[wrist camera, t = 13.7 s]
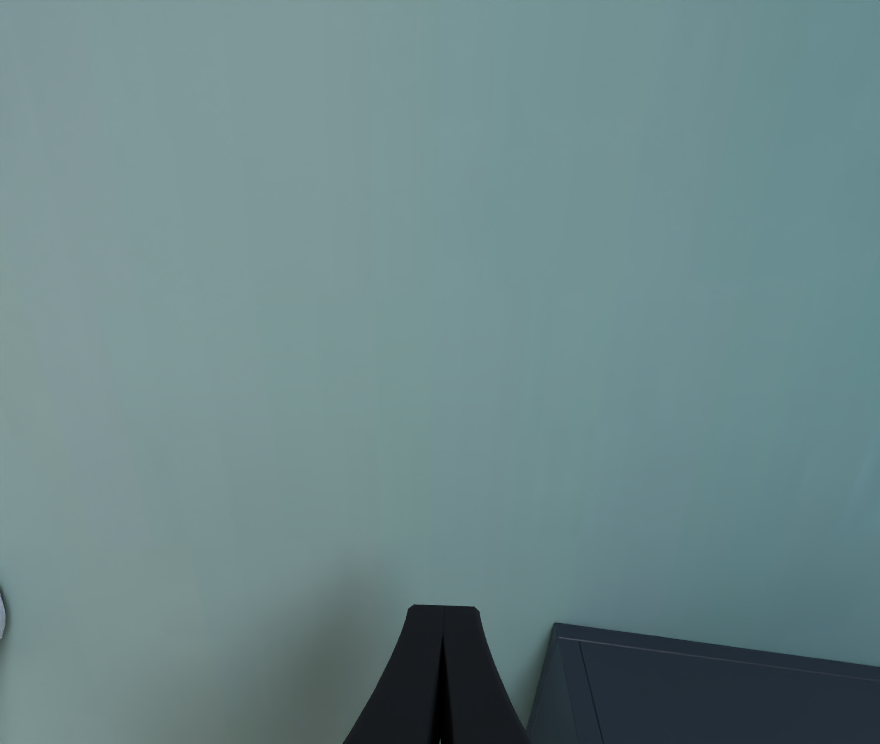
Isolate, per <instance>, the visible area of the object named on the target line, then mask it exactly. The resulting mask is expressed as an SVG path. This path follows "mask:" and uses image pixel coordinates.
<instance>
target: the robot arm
mask: <svg viewBox="0 0 880 744" xmlns="http://www.w3.org/2000/svg"><path fill="white" fill-rule="evenodd" d="M440 741H441V744H532V743H531V741H530V739H529V737H528V735H527V733H526V731H525V729H524V727H523V726H522V724H521V722H520V720H519V718H518V716H517V714H516V712H515V709H514V707H513V705H512V703H511V701H510V699H509V697H508V694H507V692H506V690H505V687H504V685H503V683H502V680H501V678H500V676H499V673H498V671H497V668H496V666H495V663H494V661H493V658H492V655H491V652H490V650H489V647H488V644H487V641H486V637H485V634H484V631H483V627H482V623H481V618H480V612H479V611H478V610H477V609H476V608H475V607H471V606H443V605H415V604H414V605H413V606H411V607H410V608H409V609H408V612H407V616H406V620H405V623H404V626H403V629H402V631H401V634H400V637H399V639H398V642H397V644H396V646H395V648H394V651H393V653H392V655H391V658H390V660H389V662H388V664H387V666H386V668H385V670H384V672H383V674H382V676H381V678H380V680H379V682H378V684H377V686H376V688H375V690H374V692H373V693H372V695H371V697H370V699H369V700H368V702H367V704H366V706H365V707H364V709H363V711H362V713H361V714H360V716H359V718H358V719H357V721H356V723H355V725H354V726H353V728H352V730H351V731H350V733H349V734H348V736H347V737H346V739H345V741H344V742H343V744H439V743H440Z"/></svg>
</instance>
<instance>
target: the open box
mask: <svg viewBox="0 0 880 744" xmlns="http://www.w3.org/2000/svg"><path fill="white" fill-rule="evenodd" d="M526 733H527V735H528V737H529V739H530V741H531V743H532V744H880V667H874V666H867V665H860V664H852V663H845V662H838V661H830V660H823V659H816V658H809V657H801V656H794V655H787V654H779V653H772V652H765V651H758V650H750V649H743V648H736V647H729V646H721V645H714V644H707V643H699V642H692V641H685V640H678V639H670V638H663V637H656V636H649V635H641V634H634V633H627V632H619V631H612V630H605V629H598V628H590V627H583V626H576V625H569V624H561V623H555V624H554V628H553V632H552V636H551V639H550V643H549V647H548V651H547V654H546V658H545V662H544V666H543V669H542V673H541V677H540V681H539V684H538V688H537V692H536V696H535V699H534V703H533V707H532V711H531V715H530V718H529V722H528V726H527V730H526Z"/></svg>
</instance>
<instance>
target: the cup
mask: <svg viewBox="0 0 880 744" xmlns="http://www.w3.org/2000/svg"><path fill="white" fill-rule="evenodd" d="M4 628H5V609H4V605H3V601H2V598H1V594H0V639H1V637H2V635H3V631H4Z"/></svg>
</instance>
